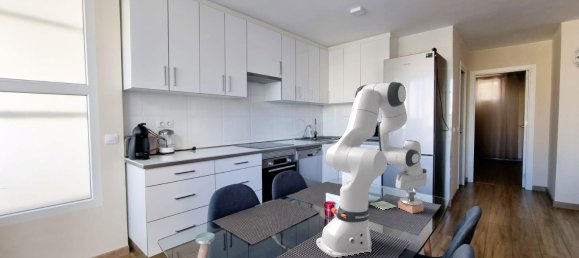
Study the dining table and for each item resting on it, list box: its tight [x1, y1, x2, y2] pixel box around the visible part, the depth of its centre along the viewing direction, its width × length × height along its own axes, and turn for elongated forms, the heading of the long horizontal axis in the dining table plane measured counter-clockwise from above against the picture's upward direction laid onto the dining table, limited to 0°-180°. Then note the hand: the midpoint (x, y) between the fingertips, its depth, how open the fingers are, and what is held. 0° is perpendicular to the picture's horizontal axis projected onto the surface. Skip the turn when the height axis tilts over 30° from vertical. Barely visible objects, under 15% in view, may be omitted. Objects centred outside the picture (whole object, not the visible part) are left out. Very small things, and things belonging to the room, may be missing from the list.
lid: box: [399, 191, 423, 205], centre depth 138 cm, size 11×11×5 cm
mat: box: [369, 200, 397, 211], centre depth 144 cm, size 10×10×1 cm
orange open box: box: [397, 200, 425, 215], centre depth 138 cm, size 9×9×4 cm
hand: (410, 195), depth 138 cm, fingers closed on lid, 3 cm apart
